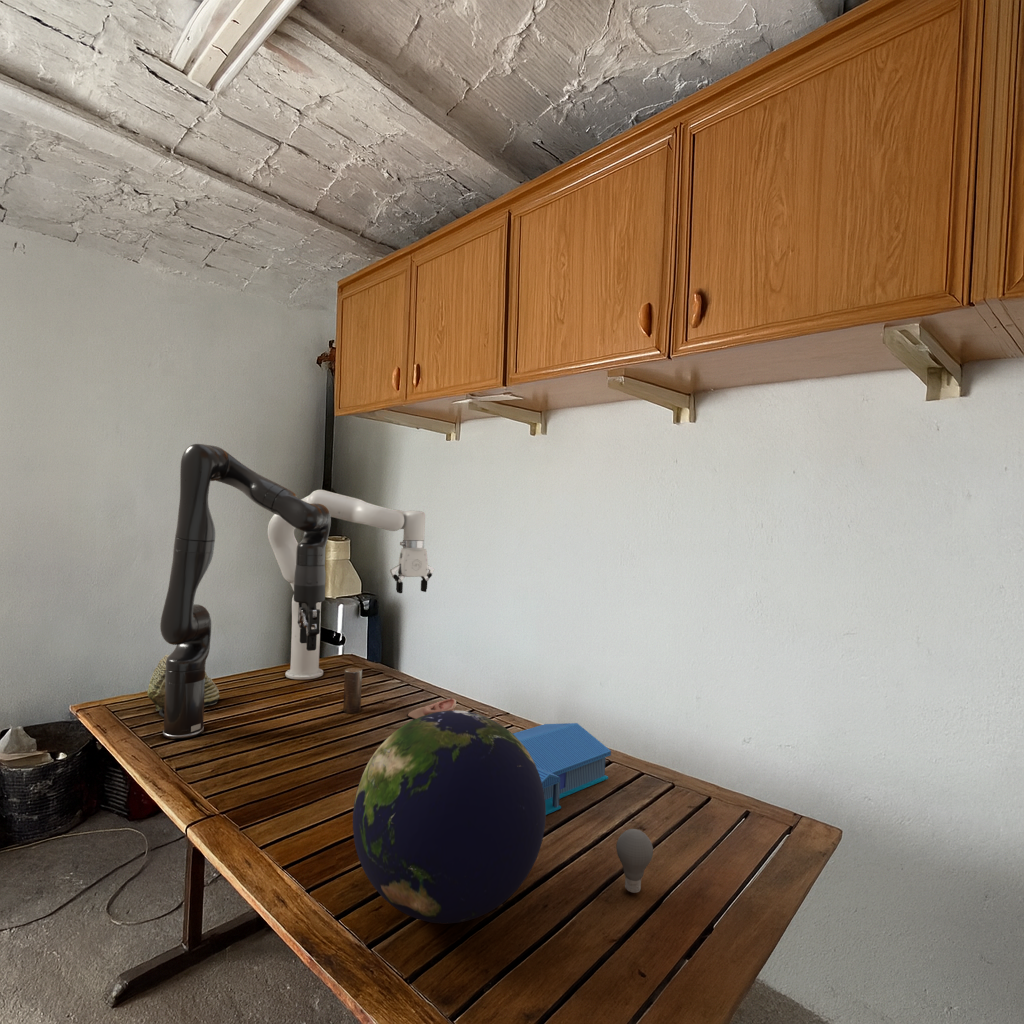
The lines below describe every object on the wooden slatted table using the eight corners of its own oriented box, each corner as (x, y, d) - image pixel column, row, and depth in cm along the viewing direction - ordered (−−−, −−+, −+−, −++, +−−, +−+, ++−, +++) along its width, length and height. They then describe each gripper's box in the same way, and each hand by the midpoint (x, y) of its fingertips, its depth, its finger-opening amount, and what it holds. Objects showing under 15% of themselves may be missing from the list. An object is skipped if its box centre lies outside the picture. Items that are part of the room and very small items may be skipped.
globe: (306, 934, 92) (314, 729, 91) (413, 836, 119) (420, 678, 119) (495, 1005, 80) (505, 771, 80) (565, 878, 108) (573, 704, 108)
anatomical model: (404, 704, 182) (418, 693, 193) (403, 718, 182) (417, 706, 193) (448, 710, 180) (460, 697, 191) (448, 723, 180) (459, 711, 191)
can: (348, 714, 184) (350, 673, 184) (340, 710, 188) (341, 669, 188) (363, 711, 188) (365, 670, 188) (354, 706, 191) (356, 666, 191)
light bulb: (610, 879, 108) (613, 822, 108) (644, 879, 109) (647, 822, 109) (619, 902, 102) (622, 840, 102) (655, 901, 103) (658, 840, 103)
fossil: (144, 707, 182) (145, 655, 182) (212, 696, 194) (213, 647, 194) (151, 716, 175) (153, 662, 175) (221, 703, 188) (223, 653, 188)
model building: (490, 838, 120) (492, 786, 120) (417, 791, 138) (419, 745, 138) (619, 783, 146) (621, 740, 146) (544, 749, 164) (545, 711, 164)
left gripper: (331, 586, 155) (329, 651, 156) (318, 578, 168) (316, 639, 168) (299, 587, 152) (297, 654, 152) (289, 579, 164) (287, 641, 164)
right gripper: (396, 546, 220) (394, 595, 221) (439, 545, 231) (437, 592, 231) (387, 544, 226) (385, 591, 227) (429, 543, 237) (427, 589, 237)
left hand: (307, 646), depth 160 cm, fingers open, 8 cm apart
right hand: (411, 592), depth 229 cm, fingers open, 9 cm apart
